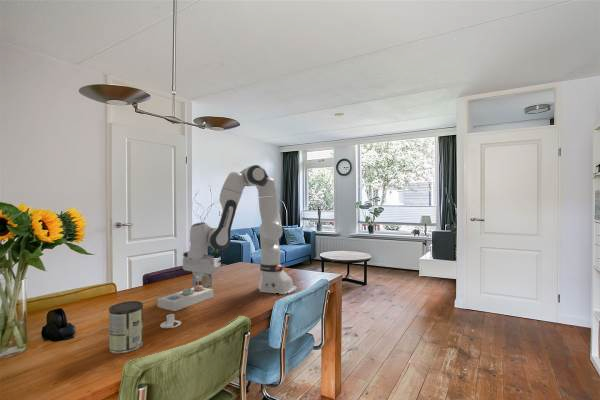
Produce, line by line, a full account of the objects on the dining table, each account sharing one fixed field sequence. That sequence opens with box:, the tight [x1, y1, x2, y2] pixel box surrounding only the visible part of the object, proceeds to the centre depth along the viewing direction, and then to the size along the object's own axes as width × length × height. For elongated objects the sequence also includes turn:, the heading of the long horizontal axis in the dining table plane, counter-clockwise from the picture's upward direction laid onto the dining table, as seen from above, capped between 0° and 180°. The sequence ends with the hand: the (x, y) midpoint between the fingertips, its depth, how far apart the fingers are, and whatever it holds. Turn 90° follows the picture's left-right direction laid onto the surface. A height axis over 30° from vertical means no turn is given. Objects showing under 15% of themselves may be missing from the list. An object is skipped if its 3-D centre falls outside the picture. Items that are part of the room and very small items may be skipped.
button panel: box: [157, 286, 214, 312], centre depth 155 cm, size 24×12×4 cm, turn 150°
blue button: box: [169, 296, 179, 300], centre depth 148 cm, size 4×4×3 cm
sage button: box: [181, 288, 191, 296], centre depth 155 cm, size 4×4×3 cm
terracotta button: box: [194, 285, 203, 292], centre depth 161 cm, size 4×4×3 cm
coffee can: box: [108, 300, 144, 354], centre depth 108 cm, size 10×10×14 cm
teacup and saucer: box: [160, 313, 182, 329], centre depth 126 cm, size 9×8×4 cm
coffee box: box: [191, 271, 213, 288], centre depth 182 cm, size 9×6×16 cm
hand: (198, 280), depth 161 cm, fingers closed
